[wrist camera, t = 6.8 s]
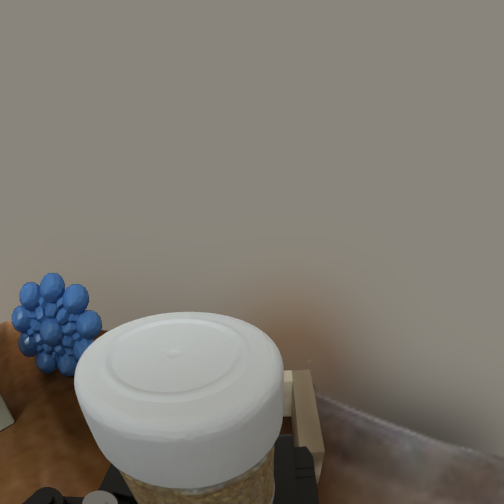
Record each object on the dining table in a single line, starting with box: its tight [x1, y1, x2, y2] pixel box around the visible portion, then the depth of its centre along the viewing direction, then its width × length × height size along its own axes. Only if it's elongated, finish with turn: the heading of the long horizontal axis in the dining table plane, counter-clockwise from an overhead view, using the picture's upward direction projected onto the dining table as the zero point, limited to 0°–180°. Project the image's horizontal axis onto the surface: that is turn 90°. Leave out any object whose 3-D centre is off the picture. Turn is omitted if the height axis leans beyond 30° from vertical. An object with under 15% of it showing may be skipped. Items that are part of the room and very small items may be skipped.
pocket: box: [283, 370, 325, 484], centre depth 21 cm, size 10×9×4 cm
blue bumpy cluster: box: [12, 273, 102, 377], centre depth 28 cm, size 12×7×12 cm, turn 100°
